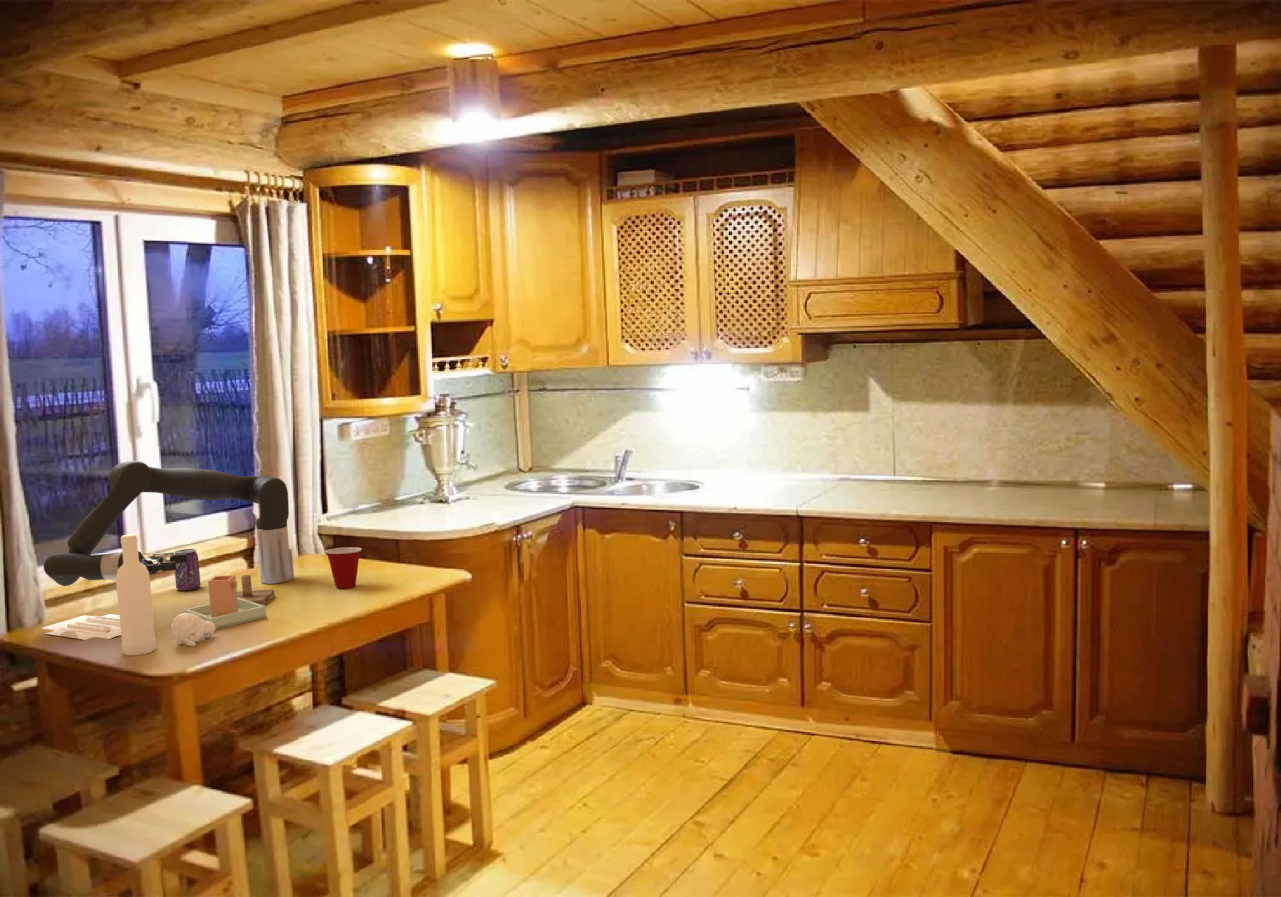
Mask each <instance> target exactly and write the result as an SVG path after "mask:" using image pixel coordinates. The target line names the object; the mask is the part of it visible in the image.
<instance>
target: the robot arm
mask: <svg viewBox="0 0 1281 897" xmlns="http://www.w3.org/2000/svg"><path fill="white" fill-rule="evenodd" d="M108 479H109V482H110V484H111V485H112V489H111V490H110V491H109V493H108V494H107V496H106V497H105V498H104V499H103V500H102V501H101V502H100V503H99V504H98V505H97V506H96V507H95V508H93V510H92V511H91V512H90V513H88V514H87V515H86V517H85V518H84V519H83V520H82V521H81V522H80V524H79V525H78V526H77V528H76V529H74V531H73V532H72V534H71V535H70V537H69V538H68V540H67V548H68V552H57V553H54V554H51V555H49V557H47V559H45V560H44V563H43V571H44V573H45V574H46V575H47V576H48V577H49V578H50V579H52V581H54V582H55V583H57V584H58V585H59V586H62V587H69V586H71V585H73V584H74V583H76V582H77V581H79V579H80V578H82V579H84V580H88V581H105V580H111V581H116V575H117V572H118V569H119V568H120V567H121V566H122V564H123V554H122V552H119V551H118V552H110V553H101V554H99V553H98V554H92V553H93V551H94V550H95V549H96V548H97V546H98V545H99V544H100V542H101V541H102V539H103V538H104V536H105V535H106V534H107V532H108V531H109V530H110V529H111V527H112V525H114V524H115V522H116V521H117V520H118V518H119V517H120V516H121V514H123V512H124V511H126V509H127V508H128V507H129V506H130V505H131V503H132V502H133V501H135V500H136V498H138V496H140V495H141V494H142V493H156V494H157V493H158V494H164V495H166V496H167V495H168V496H174V497H177V498H178V497H179V498H184V499H190V500H191V499H192V500H199V501H223V500H239V501H245V502H250V503H254V504H257V505H259V509H260V513H259V514H260V515H259V518H257V519H256V521H255V523H256V526H255V527H256V538H257V548H258V562H259V572H260V575H259V576H260V583H262V584H267V585H268V584H270V585H272V584H281V583H286V582H289V581H291V580H294V579H295V574H294V561H293V560H294V559H293V550H292V549H291V548H290V545H289V544H290V543H289V542H290V541H289V532H288V520H289V514H290V512H289V511H290V510H289V509H290V508H289V506H290V505H289V491H288V487H287V484H286V483H285V481H283V479H281V478H278V477H274V476H269V475H257V476H250V475H249V476H247V475H246V476H245V475H234V474H231V473H227V472H224V471H223V472H222V471H218V470H213V469H205V468H195V467H194V468H191V467H176V468H174V467H173V468H171V467H169V468H163V467H162V468H160V467H153V466H149V465H147V464H146V463H145V462H143V461H138V460H130V461H129V460H128V461H123V462H120V463H118V464H116V465H115V466H114V467H113V468H112V469H111V471H110V472H109V478H108ZM138 556H139V562H140V563H142V564H143V565H145V566H146V568H147V570H148V572H149V575H156V574H158V573H161V572H167V571H168V572H169V571H175V570H176V569H177V566H176V563H183V562H187V561H188V555H187V554H180V555H175V552H174V551H173V552H164V553H153V554H152V555H148V556H147V557H144V555H143V552H141V551H139V550H138ZM167 558H169V559H167Z"/></svg>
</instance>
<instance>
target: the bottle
mask: <svg viewBox="0 0 1281 897" xmlns="http://www.w3.org/2000/svg"><path fill="white" fill-rule="evenodd" d="M138 541H139V540H138V537H137V534H135V533H130V534H123V535H121V537H120V544H121V551H122V554H123V564H122V566H121V567H120V568H119V569H118V572H117V575H116V580H115V586H116V593H117V594H116V596H117V604H118V615H119V616H120V626H121V635H120V636H121V648H122V654H123V655H125V656H129V657H130V656H134V657H135V656H143V655H147V654H149V653H152V652H154V651H156V650H157V637H156V633H155V632H156V631H155V621H154V619H155V618H154V612H153V600H152V589H151V579H150V578H151V577H150V574H149V572H148V570H147V568H146V566H145V565H143V564H142V563H140V562H139V556H138V551H139V548H138V547H139V546H138Z"/></svg>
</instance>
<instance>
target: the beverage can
mask: <svg viewBox="0 0 1281 897" xmlns="http://www.w3.org/2000/svg"><path fill="white" fill-rule="evenodd" d="M180 554H187V555H188V561H187V562H183V563H176V566H177V569H176V570H174V578H175V588H176V589H177V590H180V591H185V592H187V591H194V590H196V589H198V588H199V587H200V586H201V585H202V584H201V575H200V572H201V571H200V563H199V561H200V560H199V554H198V553H197V550H196V548H184V549H183V548H182V549H179V550H175V551H174V555H180Z"/></svg>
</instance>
